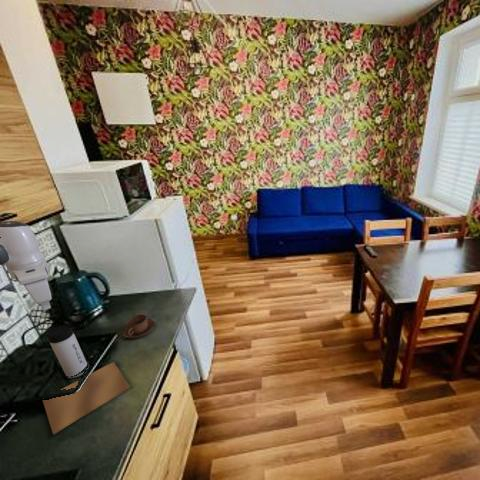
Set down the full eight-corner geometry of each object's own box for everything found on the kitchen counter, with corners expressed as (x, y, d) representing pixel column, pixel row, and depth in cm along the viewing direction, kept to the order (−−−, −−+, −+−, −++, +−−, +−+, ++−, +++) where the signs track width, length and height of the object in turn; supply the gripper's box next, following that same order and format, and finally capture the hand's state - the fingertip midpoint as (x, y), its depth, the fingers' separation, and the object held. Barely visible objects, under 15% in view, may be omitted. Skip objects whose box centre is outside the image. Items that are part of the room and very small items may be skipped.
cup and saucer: (152, 337, 115) (149, 325, 113) (119, 343, 112) (115, 332, 109) (157, 319, 126) (154, 309, 123) (128, 325, 122) (124, 314, 120)
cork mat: (53, 434, 79) (52, 433, 78) (42, 400, 88) (42, 399, 88) (130, 387, 93) (130, 386, 93) (114, 362, 103) (113, 361, 102)
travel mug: (64, 372, 98) (42, 330, 90) (86, 362, 103) (68, 320, 95) (67, 382, 94) (45, 339, 87) (90, 371, 99) (71, 328, 91)
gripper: (11, 262, 92) (27, 295, 97) (19, 282, 80) (37, 319, 85) (37, 256, 96) (51, 288, 101) (47, 274, 84) (63, 310, 90)
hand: (44, 303), depth 93 cm, fingers open, 8 cm apart
